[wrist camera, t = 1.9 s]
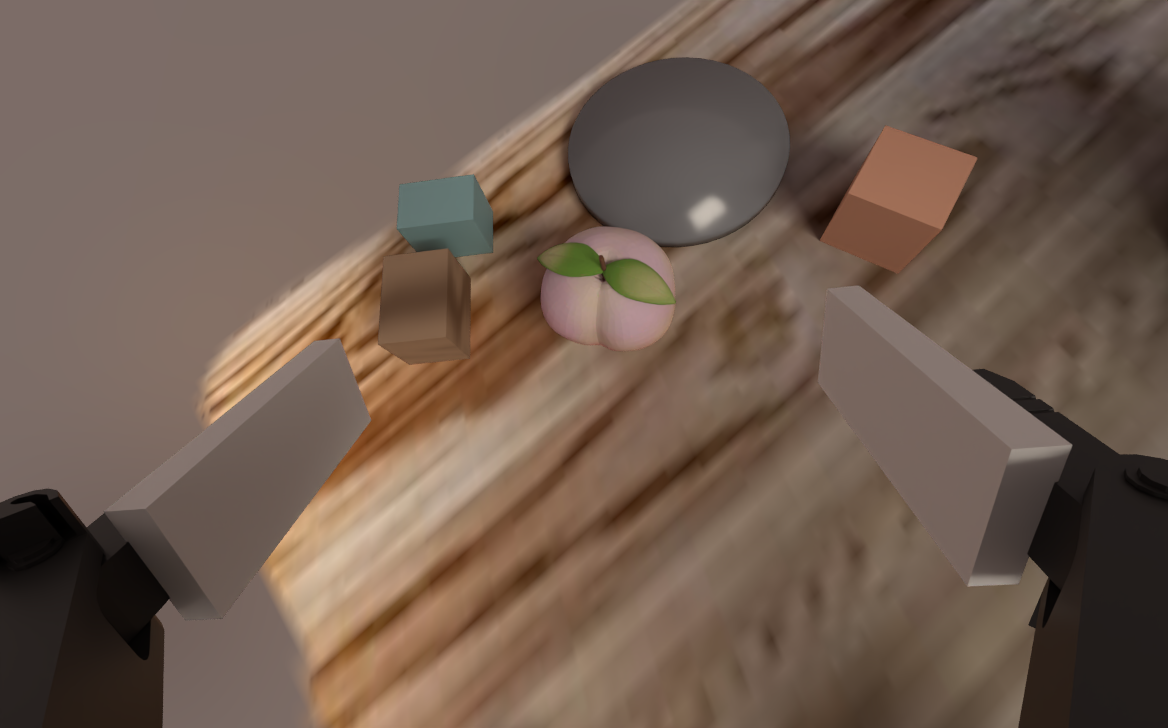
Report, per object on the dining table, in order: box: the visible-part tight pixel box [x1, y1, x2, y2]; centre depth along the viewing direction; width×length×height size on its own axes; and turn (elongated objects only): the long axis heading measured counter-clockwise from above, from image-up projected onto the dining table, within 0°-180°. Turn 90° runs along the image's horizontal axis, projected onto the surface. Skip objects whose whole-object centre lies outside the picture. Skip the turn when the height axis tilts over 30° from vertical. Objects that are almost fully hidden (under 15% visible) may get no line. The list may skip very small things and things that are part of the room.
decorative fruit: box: [537, 226, 676, 351], centre depth 34 cm, size 9×8×10 cm
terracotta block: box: [820, 125, 977, 274], centre depth 36 cm, size 6×6×6 cm
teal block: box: [397, 174, 493, 257], centre depth 41 cm, size 6×4×5 cm, turn 93°
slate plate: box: [568, 58, 790, 247], centre depth 42 cm, size 18×18×1 cm
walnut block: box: [378, 248, 471, 365], centre depth 39 cm, size 7×5×5 cm
